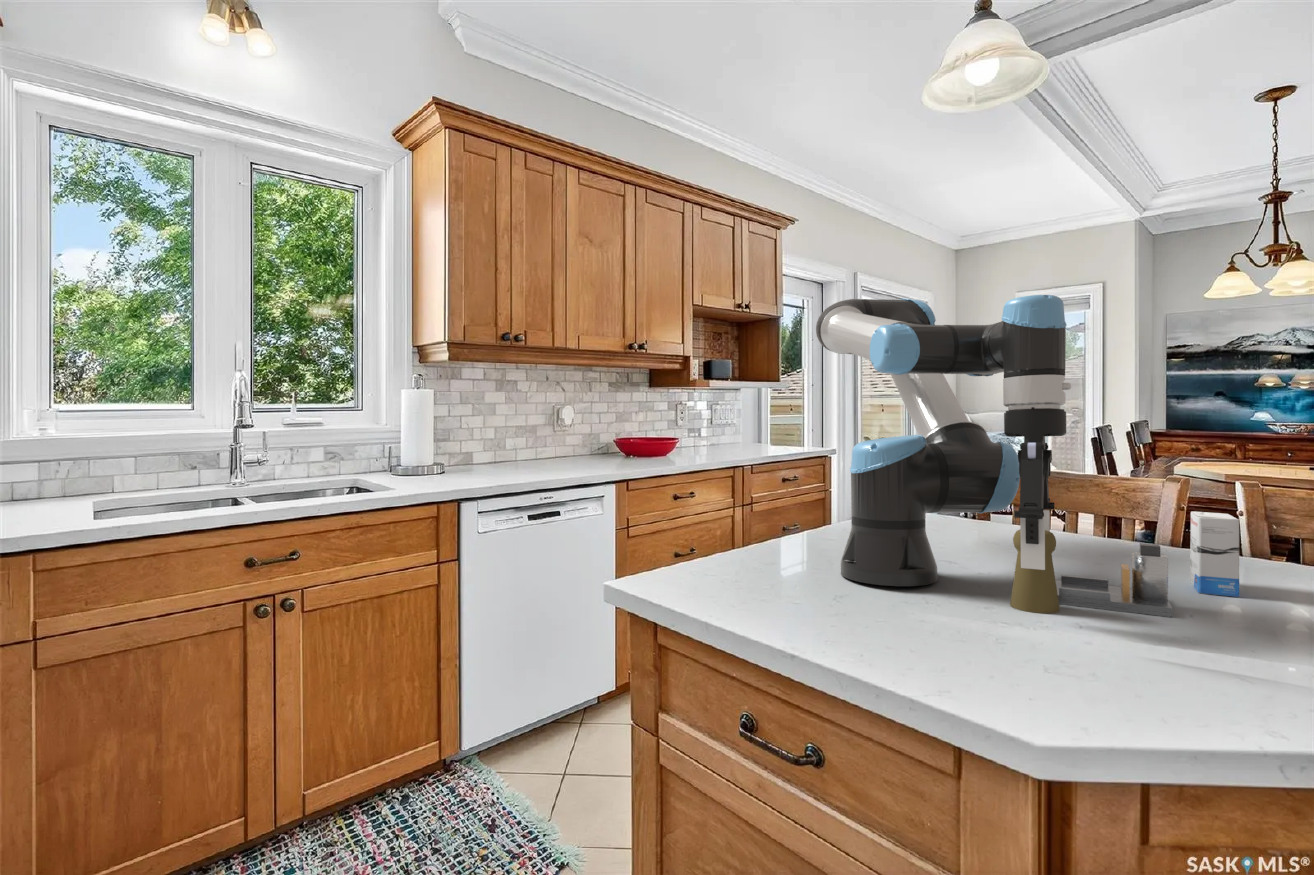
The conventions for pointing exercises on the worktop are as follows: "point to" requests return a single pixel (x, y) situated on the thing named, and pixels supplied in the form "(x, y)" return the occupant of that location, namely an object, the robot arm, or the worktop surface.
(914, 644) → the worktop surface
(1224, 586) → the ink box
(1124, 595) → the grey stand
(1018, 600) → the cork
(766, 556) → the worktop surface
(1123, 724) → the worktop surface
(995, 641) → the worktop surface
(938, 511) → the robot arm
